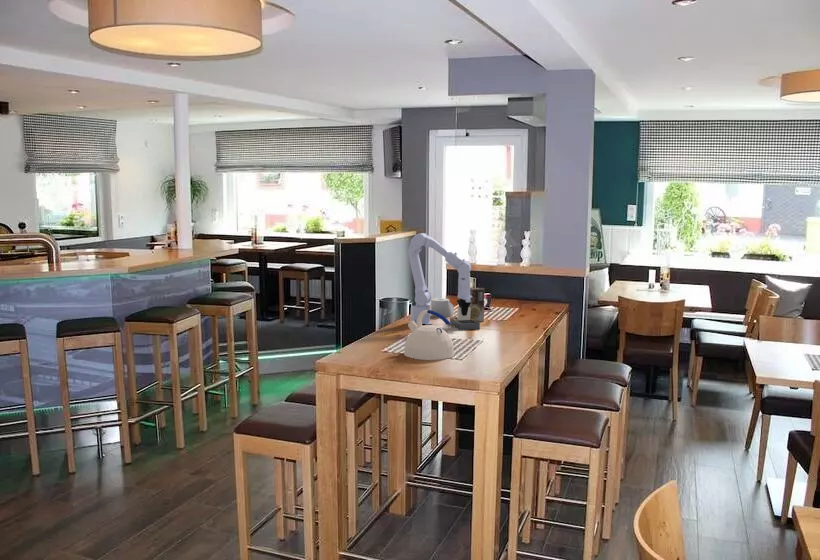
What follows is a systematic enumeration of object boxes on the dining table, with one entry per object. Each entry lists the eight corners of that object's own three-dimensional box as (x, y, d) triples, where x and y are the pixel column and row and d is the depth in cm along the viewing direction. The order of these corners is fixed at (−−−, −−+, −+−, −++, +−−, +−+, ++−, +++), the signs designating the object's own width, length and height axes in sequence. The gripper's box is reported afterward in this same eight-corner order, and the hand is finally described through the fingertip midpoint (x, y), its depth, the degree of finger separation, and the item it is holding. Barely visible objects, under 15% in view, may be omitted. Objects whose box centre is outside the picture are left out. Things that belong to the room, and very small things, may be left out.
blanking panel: (458, 322, 344) (458, 307, 343) (457, 321, 345) (457, 307, 345) (470, 322, 345) (470, 307, 344) (469, 321, 347) (469, 307, 346)
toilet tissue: (458, 315, 373) (458, 299, 372) (438, 318, 365) (438, 301, 364) (447, 313, 380) (447, 297, 379) (427, 315, 373) (427, 299, 372)
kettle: (424, 346, 300) (424, 304, 298) (464, 354, 287) (465, 309, 285) (392, 355, 284) (392, 310, 282) (433, 363, 271) (434, 316, 269)
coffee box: (483, 319, 363) (484, 287, 361) (483, 321, 357) (484, 289, 355) (465, 318, 364) (466, 287, 362) (465, 321, 358) (466, 289, 356)
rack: (459, 330, 335) (459, 323, 334) (449, 323, 350) (450, 317, 350) (479, 329, 337) (479, 322, 337) (469, 323, 353) (469, 316, 352)
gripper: (476, 288, 337) (476, 317, 339) (467, 284, 351) (467, 312, 353) (462, 289, 335) (461, 317, 337) (453, 285, 349) (453, 312, 351)
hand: (463, 315), depth 345 cm, fingers closed on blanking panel, 2 cm apart
